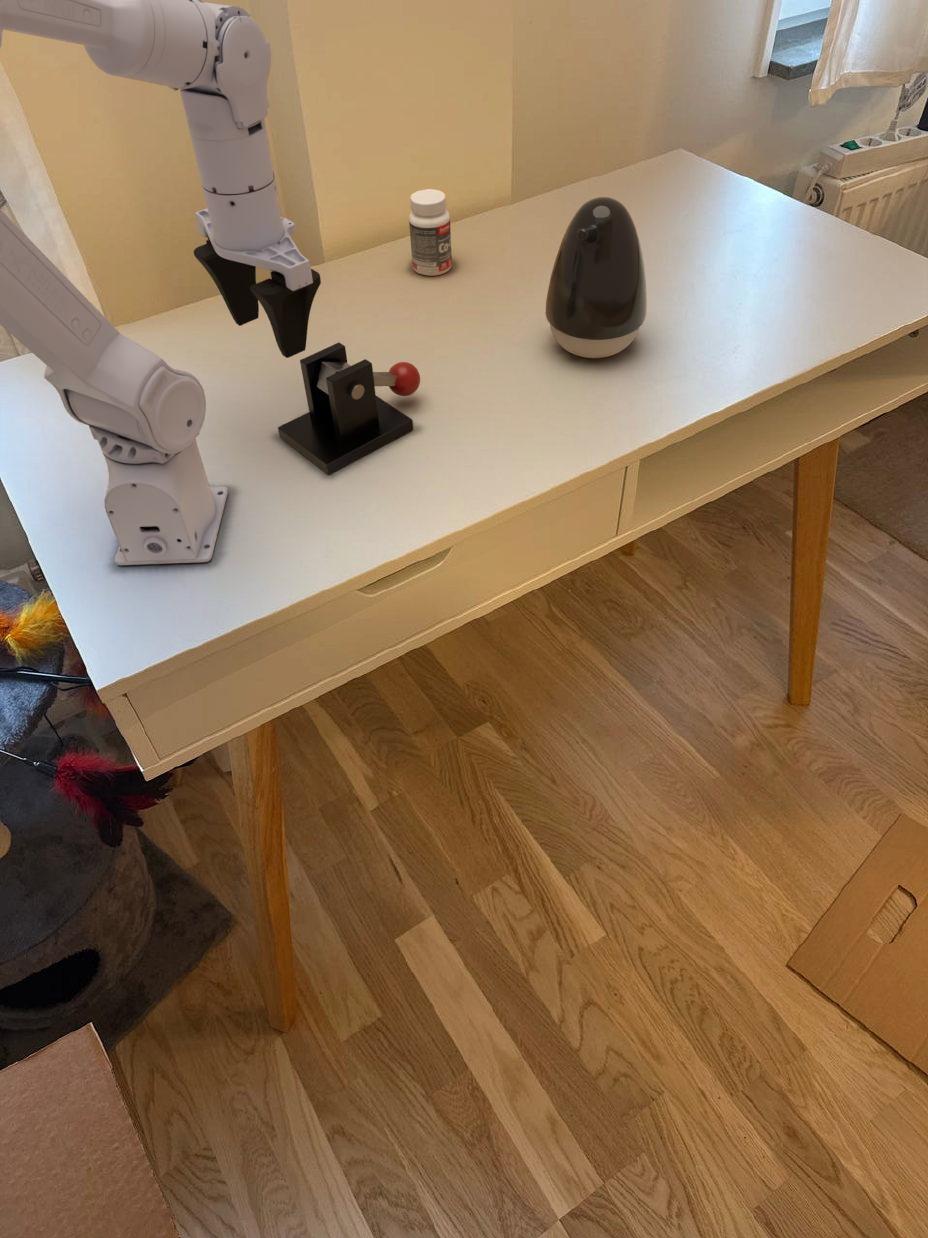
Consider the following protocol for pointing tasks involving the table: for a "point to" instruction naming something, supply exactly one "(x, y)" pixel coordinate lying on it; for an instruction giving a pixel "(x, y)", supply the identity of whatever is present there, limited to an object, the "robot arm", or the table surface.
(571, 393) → the table surface
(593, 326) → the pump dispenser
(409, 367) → the lever
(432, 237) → the pill bottle
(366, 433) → the bracket
